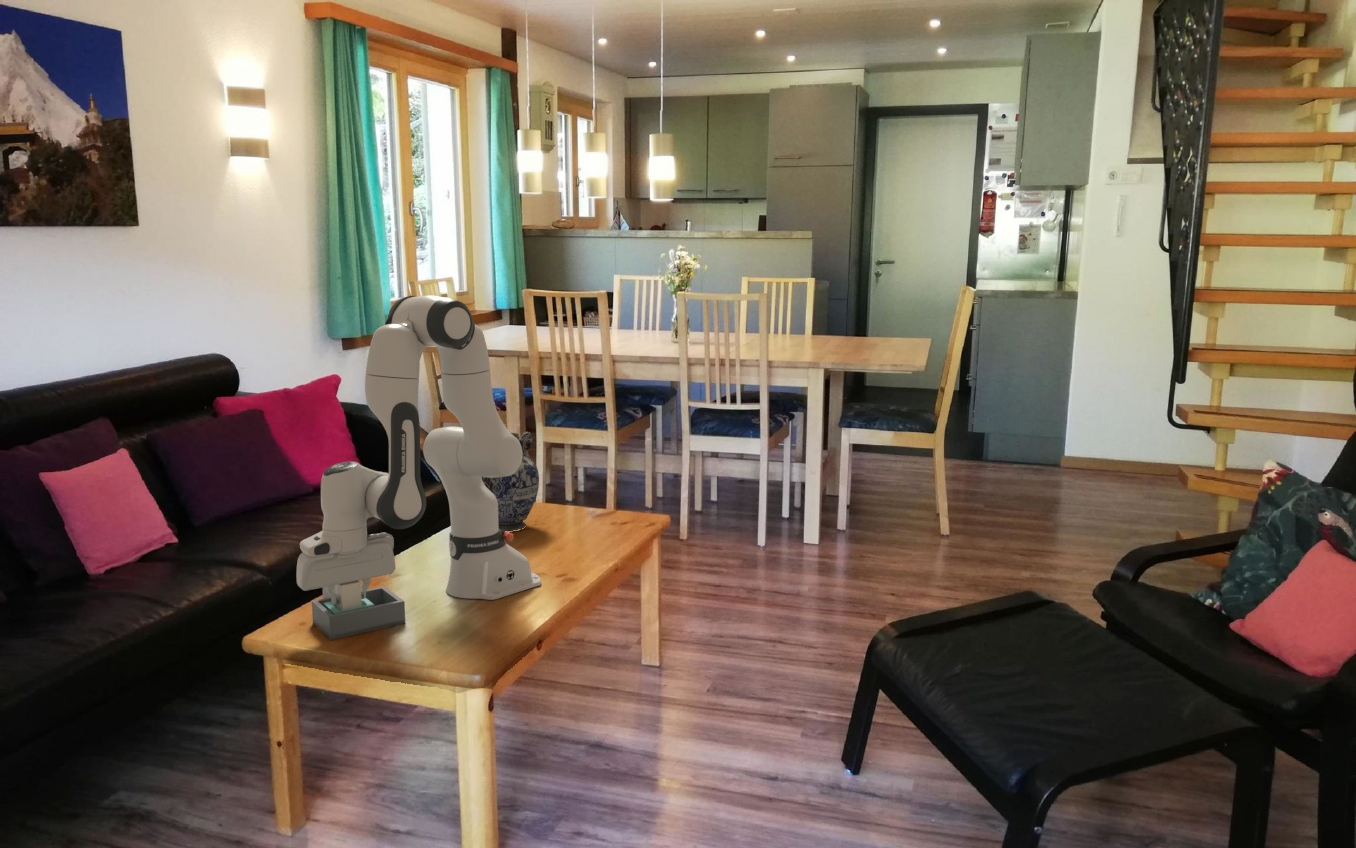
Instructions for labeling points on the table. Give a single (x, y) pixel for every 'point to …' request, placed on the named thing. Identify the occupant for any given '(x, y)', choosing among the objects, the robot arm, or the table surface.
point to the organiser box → (360, 615)
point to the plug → (349, 595)
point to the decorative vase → (516, 490)
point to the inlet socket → (334, 610)
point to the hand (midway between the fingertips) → (348, 601)
